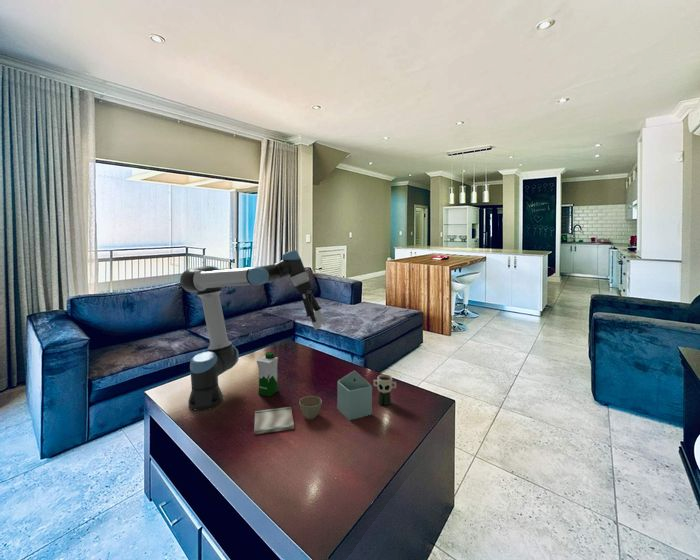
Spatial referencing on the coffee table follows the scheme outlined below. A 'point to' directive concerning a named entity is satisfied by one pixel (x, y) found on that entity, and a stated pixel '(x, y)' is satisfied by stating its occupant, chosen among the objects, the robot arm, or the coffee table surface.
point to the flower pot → (310, 406)
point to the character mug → (384, 388)
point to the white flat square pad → (273, 420)
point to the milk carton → (268, 374)
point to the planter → (354, 396)
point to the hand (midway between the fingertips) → (320, 325)
